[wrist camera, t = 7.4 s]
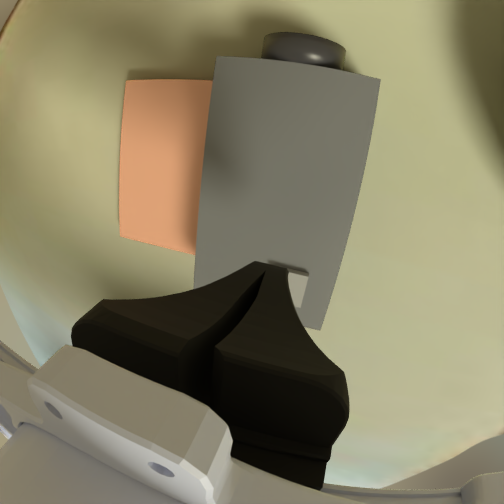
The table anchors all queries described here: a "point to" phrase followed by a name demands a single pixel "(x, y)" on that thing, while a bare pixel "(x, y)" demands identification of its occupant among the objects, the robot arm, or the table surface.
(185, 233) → the side door
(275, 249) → the camera housing
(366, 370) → the table surface
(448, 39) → the table surface
